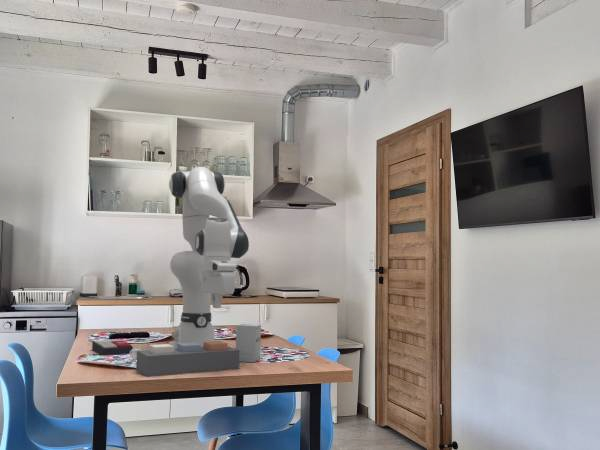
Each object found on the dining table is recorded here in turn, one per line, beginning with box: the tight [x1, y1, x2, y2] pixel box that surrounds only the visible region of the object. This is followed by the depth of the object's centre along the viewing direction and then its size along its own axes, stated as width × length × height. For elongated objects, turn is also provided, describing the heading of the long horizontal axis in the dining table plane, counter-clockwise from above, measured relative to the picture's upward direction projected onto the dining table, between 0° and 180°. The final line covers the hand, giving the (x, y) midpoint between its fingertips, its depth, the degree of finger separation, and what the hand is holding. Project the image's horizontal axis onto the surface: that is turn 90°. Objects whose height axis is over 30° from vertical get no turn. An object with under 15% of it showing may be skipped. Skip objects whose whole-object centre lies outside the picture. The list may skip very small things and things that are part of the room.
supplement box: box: [235, 323, 262, 363], centre depth 201 cm, size 7×7×13 cm
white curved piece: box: [124, 348, 142, 363], centre depth 197 cm, size 9×8×4 cm
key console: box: [135, 345, 240, 377], centre depth 181 cm, size 12×30×6 cm, turn 121°
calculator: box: [91, 338, 134, 356], centre depth 215 cm, size 11×4×15 cm
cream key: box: [148, 343, 174, 354], centre depth 177 cm, size 6×6×4 cm
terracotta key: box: [203, 340, 228, 351], centre depth 186 cm, size 6×6×4 cm
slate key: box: [177, 343, 201, 353], centre depth 181 cm, size 6×6×4 cm
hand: (216, 307), depth 187 cm, fingers closed
